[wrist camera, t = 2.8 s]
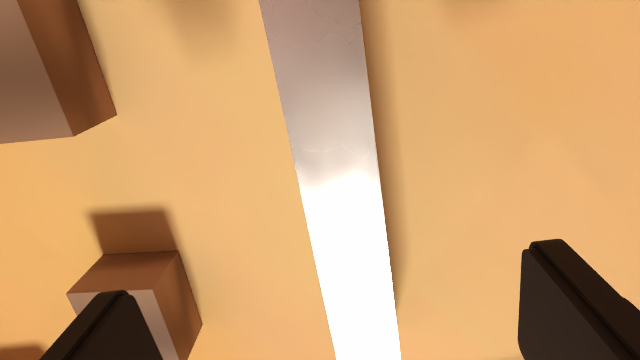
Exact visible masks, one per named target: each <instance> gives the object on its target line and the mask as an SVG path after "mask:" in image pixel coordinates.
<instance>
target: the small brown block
mask: <svg viewBox="0 0 640 360" xmlns="http://www.w3.org/2000/svg"><path fill="white" fill-rule="evenodd" d="M115 290H125V291H127V292H128V293H129V295H132V296H134V297H135V299H136V301H137V303H138V305H139V308H140V310H141V312H142V314H143V316H144V318H145V321H146V323H147V325H148V327H149V329H150V332H151V334H152V336H153V338H154V340H155V342H156V345H157V347H158V349H159V351H160V353H161V356H162V358H163V360H187V359H188V357H189V355H190V352H191V350H192V348H193V345H194V343H195V341H196V339H197V336H198V334H199V332H200V329H201V327H202V325H203V324H202V321H201V318H200V315H199V312H198V309H197V306H196V303H195V300H194V297H193V294H192V291H191V288H190V285H189V282H188V278H187V275H186V272H185V269H184V266H183V263H182V260H181V257H180V254H179V251H162V252H144V253H127V254H109V255H103V256H102V257H101V258H100V259H99V260H98V261H97V262H96V263H95V264H94V265H93V266H92V267H91V268H90V269H89V270H88V271H87V272H86V273H85V274H84V275H83V276H82V277H81V278H80V280H79V281H78V282H77V283H76V284H75V285H74V286H73V287H72V288H71V289H70V290H69V291H68V292H67V293H66V295H67V297H68V299H69V301H70V303H71V305H72V307H73V309H74V311H75V313H76V315H77V316H78V315H79V314H80V313H81V311H82V310H83V309H84V308H85V307H86V306H87V305H88V303H89V302H90V301H91V300H92V299H93V298H94V297H95V296H96V295H97V294H98V293H101V292H107V291H115Z"/></svg>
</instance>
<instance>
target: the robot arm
mask: <svg viewBox="0 0 640 360" xmlns="http://www.w3.org/2000/svg"><path fill="white" fill-rule="evenodd" d="M518 344H519V348H520V351H521V353H522V355H523V357H524V359H525V360H640V311H639V310H638V309H637V308H636V307H635V306H634V305H633V304H632V303H631V302H629V301H628V300H627V299H625V298H623V297H622V296H621V295H619V294H618V293H617V292H616V291H615V290H614V289H613V288H612V287H611V286H610V285H609V284H608V283H607V282H606V281H605V280H604V279H603V278H602V277H601V276H600V275H599V274H598V273H597V272H596V271H595V270H594V269H593V268H592V267H591V266H589V265H588V264H587V263H586V262H585V261H584V260H583V259H582V258H581V257H580V256H579V255H578V254H577V253H576V252H575V251H574V250H573V249H572V248H571V247H570V246H569V245H568V244H567V243H566V242H565V241H563V240H562V239H552V240H544V241H535V242H532V243H531V244H530V246H529V249H525V250H523V252H522V262H521V282H520V302H519V322H518ZM39 360H163V358H162V356H161V353H160V351H159V349H158V347H157V345H156V342H155V340H154V338H153V336H152V334H151V332H150V329H149V327H148V325H147V323H146V321H145V318H144V316H143V314H142V312H141V310H140V308H139V305H138V303H137V301H136V299H135V297H134V296H132V295H129V293H128V292H127V291H125V290H115V291H107V292H101V293H98V294H97V295H96V296H95V297H94V298H93V299H92V300H91V301H90V302H89V303H88V305H87V306H86V307H85V308H84V309H83V310H82V311H81V313H80V314H79V315H78V316H77V317H76V318H75V319H74V321H73V322H72V323H71V324H70V325H69V326H68V327H67V329H66V330H65V331H64V332H63V333H62V334H61V335H60V337H59V338H58V339H57V340H56V341H55V342H54V343H53V345H52V346H51V347H50V348H49V349H48V350H47V351H46V353H45V354H44V355H43V356H42V357H41V358H40V359H39Z"/></svg>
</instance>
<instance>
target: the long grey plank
mask: <svg viewBox="0 0 640 360" xmlns="http://www.w3.org/2000/svg"><path fill="white" fill-rule="evenodd" d="M259 4H260V8H261V13H262V17H263V22H264V27H265V31H266V36H267V40H268V45H269V50H270V54H271V59H272V63H273V68H274V72H275V77H276V82H277V86H278V91H279V95H280V100H281V104H282V109H283V114H284V118H285V123H286V127H287V132H288V137H289V141H290V146H291V150H292V155H293V159H294V164H295V169H296V173H297V178H298V182H299V187H300V191H301V196H302V201H303V205H304V210H305V214H306V219H307V224H308V228H309V233H310V237H311V242H312V246H313V251H314V256H315V260H316V265H317V269H318V274H319V278H320V283H321V288H322V292H323V297H324V301H325V306H326V311H327V315H328V320H329V324H330V329H331V333H332V338H333V343H334V347H335V352H336V356H337V360H401V357H400V348H399V340H398V331H397V323H396V314H395V306H394V297H393V289H392V280H391V271H390V263H389V254H388V246H387V237H386V229H385V220H384V212H383V203H382V194H381V186H380V177H379V169H378V160H377V152H376V143H375V134H374V126H373V117H372V109H371V100H370V92H369V83H368V75H367V66H366V57H365V49H364V40H363V32H362V23H361V15H360V6H359V0H259Z"/></svg>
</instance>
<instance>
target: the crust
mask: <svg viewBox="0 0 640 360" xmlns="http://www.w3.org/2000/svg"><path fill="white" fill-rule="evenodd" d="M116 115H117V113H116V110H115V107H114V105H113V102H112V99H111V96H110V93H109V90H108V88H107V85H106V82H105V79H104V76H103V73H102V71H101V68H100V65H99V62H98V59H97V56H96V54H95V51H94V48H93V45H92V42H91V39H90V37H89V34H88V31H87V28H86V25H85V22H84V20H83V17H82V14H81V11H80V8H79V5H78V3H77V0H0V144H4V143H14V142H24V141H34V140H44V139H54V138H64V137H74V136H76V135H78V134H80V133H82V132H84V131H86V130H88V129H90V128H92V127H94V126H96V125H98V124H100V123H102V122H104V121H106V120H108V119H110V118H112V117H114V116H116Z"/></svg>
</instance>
